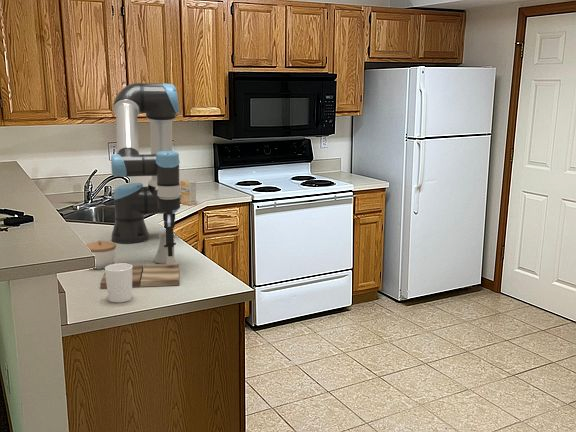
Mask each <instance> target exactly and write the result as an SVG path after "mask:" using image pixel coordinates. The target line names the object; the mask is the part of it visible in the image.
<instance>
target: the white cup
mask: <svg viewBox="0 0 576 432" xmlns="http://www.w3.org/2000/svg"><path fill="white" fill-rule="evenodd" d="M132 265H133V264H129V263H126V262H125V263H123V262H121V263H120V262H119V263H118V262H117V263H112V264H111V265H108V266H106V267H105V268H104V273H105V274H106V283H107V289H106V290H107V293H108V294H107V296H108V301H109V302H111V303H127V302H128V301H130V300H132V298H133V293H132V292H133V288H132Z"/></svg>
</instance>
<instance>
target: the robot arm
mask: <svg viewBox="0 0 576 432" xmlns="http://www.w3.org/2000/svg"><path fill="white" fill-rule="evenodd" d="M179 103H180V102H179V98H178V92H177V88H176V86H175V85H174V84H172V83H164V82H150V83H149V82H148V83H147V82H143V83H142V82H134V83H131V84H128V85H126V86H125V87H124V88H122V89H121V90H120V91H119V92H118V93H117V95H116V96H115V98H114V101H113V105H112V106H113V107H112V108H113V110H112V111H113V113H114V115H115V121H116V154H112V155H111V158H110V162H111V163H110V164H111V175H112V176H113V177H123V178H127V177H130V178H131V177H151V179H149V181H148V182H147V186H144V184H143V183H142V182H131V183H124V184H121V185H118V186H116V187H115V188H114V190H113V200H114V225H113V229H112V232H111V241H112V242H113V243H119V244H137V243H138V244H139V243H142V242H145V241H148V240H149V238H150V236H149V235H150V233H149V230H148V228H147V226H146V225H147V224H146V222H145V215H159V214H161V215H162V220H163V227H164V228H165V234H166V245H164V247H166V264H167V265H175V264H176V263H175V261H176V260H175V261H174V259H175V245H176V244H177V243H176V242H175V238H174V237H175V236H174V229H175V220H176V213H177V212H178V210H180V208H181V193H180V156H179V152H177V151H176V150H175V151H174V150H173V122H174V121H175V120H176V119H177V118H176V117H177V115H178V114H180V104H179ZM140 114H145V119H147V121H148V122H149V126H150V127H149V128H150V129H149V130H150V154H147V153H146V154H145V153H144V154H140V143H139V128H138V125H139V123H138V116H139V115H140Z"/></svg>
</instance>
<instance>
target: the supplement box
mask: <svg viewBox="0 0 576 432" xmlns="http://www.w3.org/2000/svg"><path fill="white" fill-rule="evenodd" d="M179 182H180V205H186V206H190V207H191V206H195V205H197V182H196V181H194V180H189V179H183V180H179Z"/></svg>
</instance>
